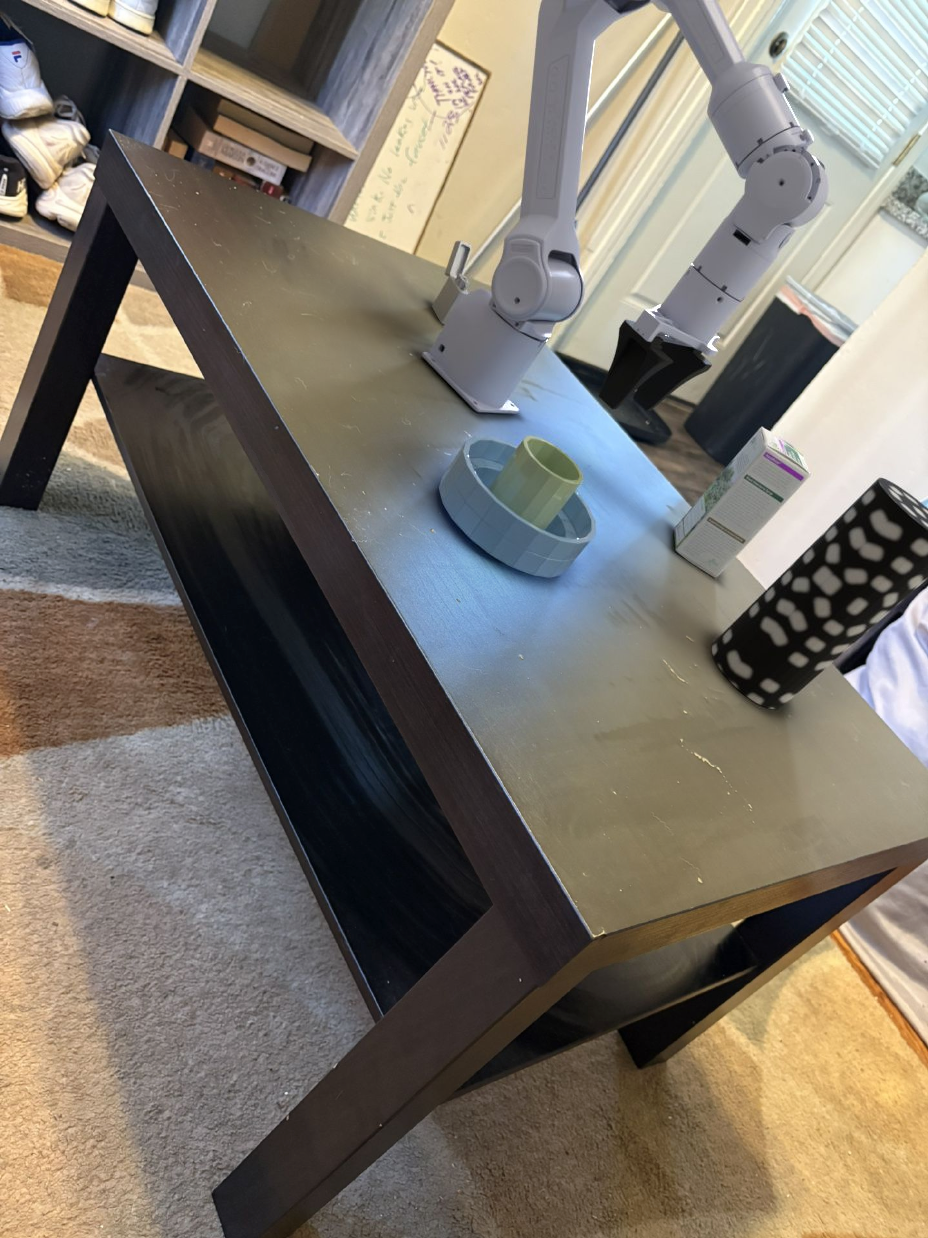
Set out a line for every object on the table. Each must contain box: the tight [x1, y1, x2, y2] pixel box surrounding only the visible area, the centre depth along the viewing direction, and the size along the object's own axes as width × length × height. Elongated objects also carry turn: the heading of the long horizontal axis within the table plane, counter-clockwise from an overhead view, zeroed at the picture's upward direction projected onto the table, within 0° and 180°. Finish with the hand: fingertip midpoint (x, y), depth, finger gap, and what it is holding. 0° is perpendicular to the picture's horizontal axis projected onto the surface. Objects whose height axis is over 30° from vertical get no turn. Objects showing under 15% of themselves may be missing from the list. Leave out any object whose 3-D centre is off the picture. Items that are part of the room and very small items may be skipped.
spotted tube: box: [711, 477, 928, 710], centre depth 75 cm, size 8×8×20 cm
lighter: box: [431, 240, 473, 325], centre depth 105 cm, size 7×2×8 cm, turn 20°
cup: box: [489, 435, 585, 531], centre depth 72 cm, size 6×6×7 cm
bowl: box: [438, 436, 597, 579], centre depth 73 cm, size 13×13×4 cm
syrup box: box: [673, 426, 812, 579], centre depth 91 cm, size 6×6×14 cm
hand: (624, 403), depth 86 cm, fingers open, 7 cm apart
